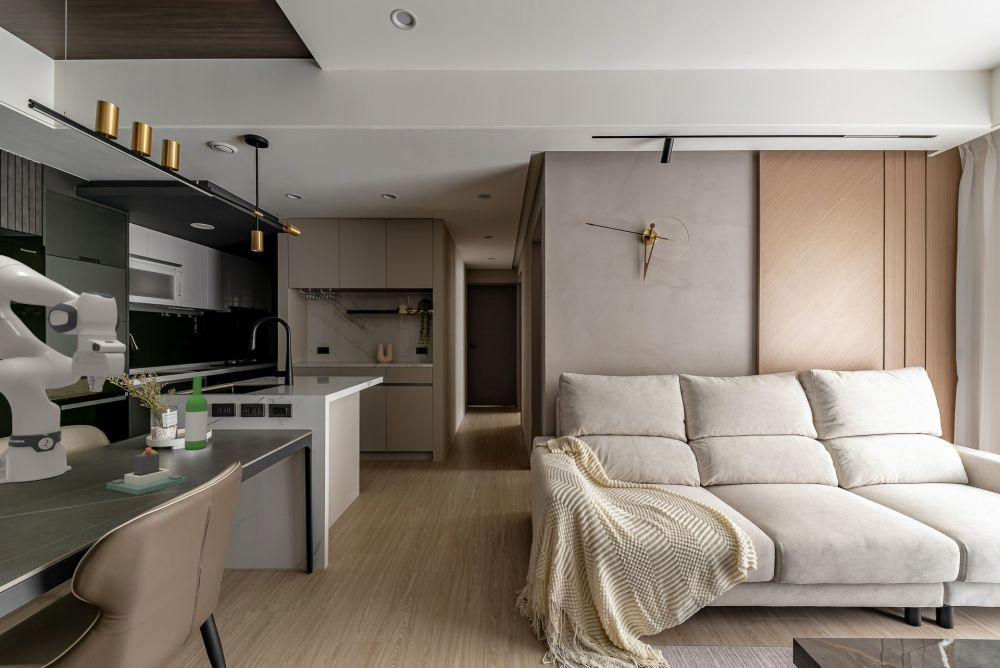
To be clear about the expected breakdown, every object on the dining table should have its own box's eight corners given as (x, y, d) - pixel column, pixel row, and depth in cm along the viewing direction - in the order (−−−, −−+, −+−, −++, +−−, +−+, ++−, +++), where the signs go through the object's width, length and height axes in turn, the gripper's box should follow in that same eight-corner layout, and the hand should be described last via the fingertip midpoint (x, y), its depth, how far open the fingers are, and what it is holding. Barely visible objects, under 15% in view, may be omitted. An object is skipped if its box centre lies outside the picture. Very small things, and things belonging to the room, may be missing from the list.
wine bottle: (190, 451, 190) (192, 377, 190) (180, 448, 194) (182, 376, 194) (210, 447, 196) (212, 376, 197) (200, 445, 200) (202, 375, 201)
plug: (133, 482, 142) (134, 449, 142) (153, 477, 148) (154, 445, 148) (140, 483, 141) (141, 450, 141) (161, 478, 146) (161, 446, 146)
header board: (106, 488, 141) (106, 475, 141) (156, 476, 153) (156, 464, 154) (137, 495, 135) (138, 481, 135) (186, 482, 148) (186, 469, 148)
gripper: (65, 345, 142) (63, 390, 142) (105, 346, 134) (103, 394, 134) (89, 345, 148) (88, 389, 147) (129, 346, 140) (128, 392, 140)
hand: (96, 391), depth 141 cm, fingers closed
